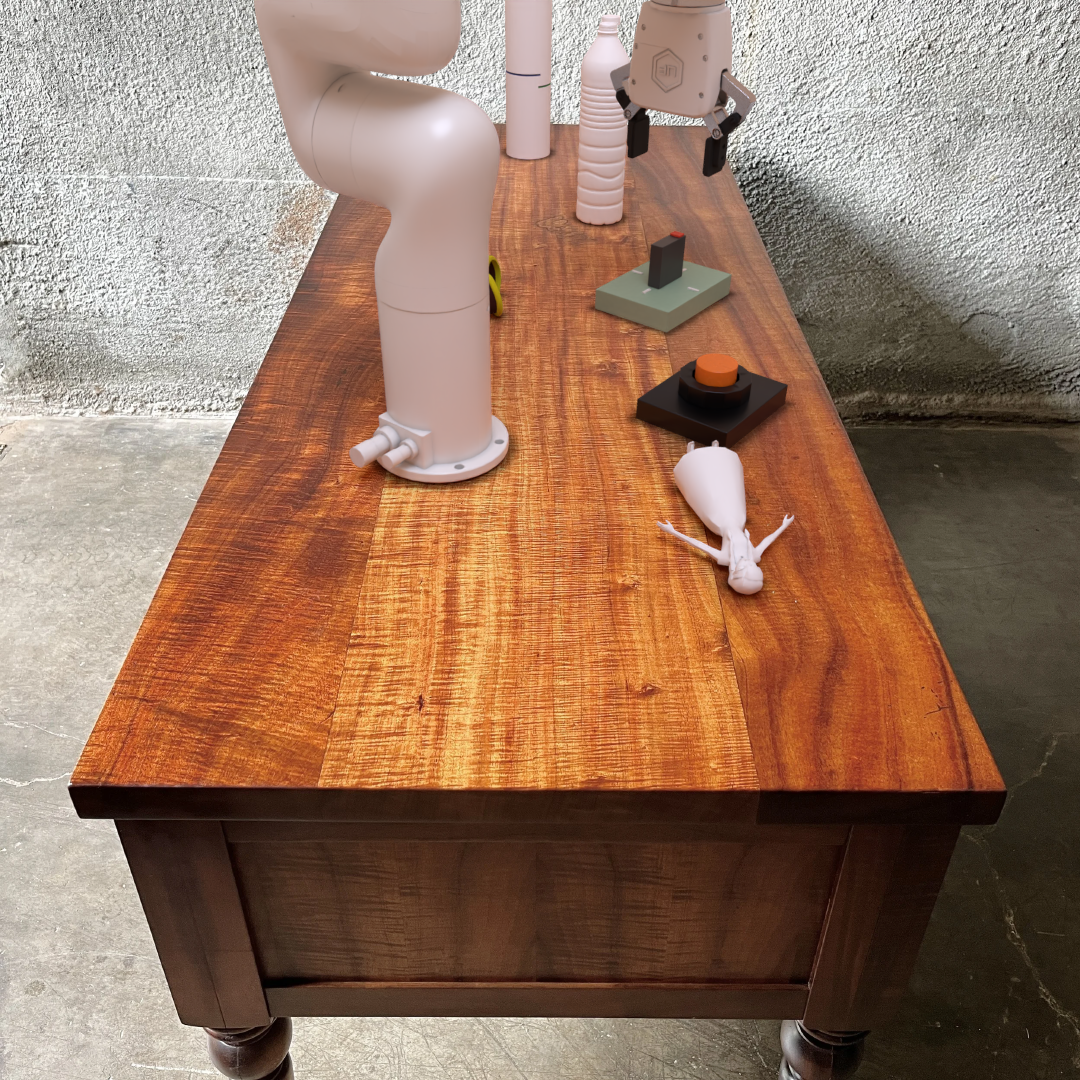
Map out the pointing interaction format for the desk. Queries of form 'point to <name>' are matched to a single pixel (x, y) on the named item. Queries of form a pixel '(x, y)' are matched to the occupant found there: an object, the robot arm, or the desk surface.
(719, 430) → the button housing
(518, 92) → the cylindrical container
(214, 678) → the desk surface
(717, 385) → the button
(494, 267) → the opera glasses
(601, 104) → the water bottle
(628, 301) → the knob panel
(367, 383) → the desk surface
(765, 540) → the woman figurine
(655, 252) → the knob
